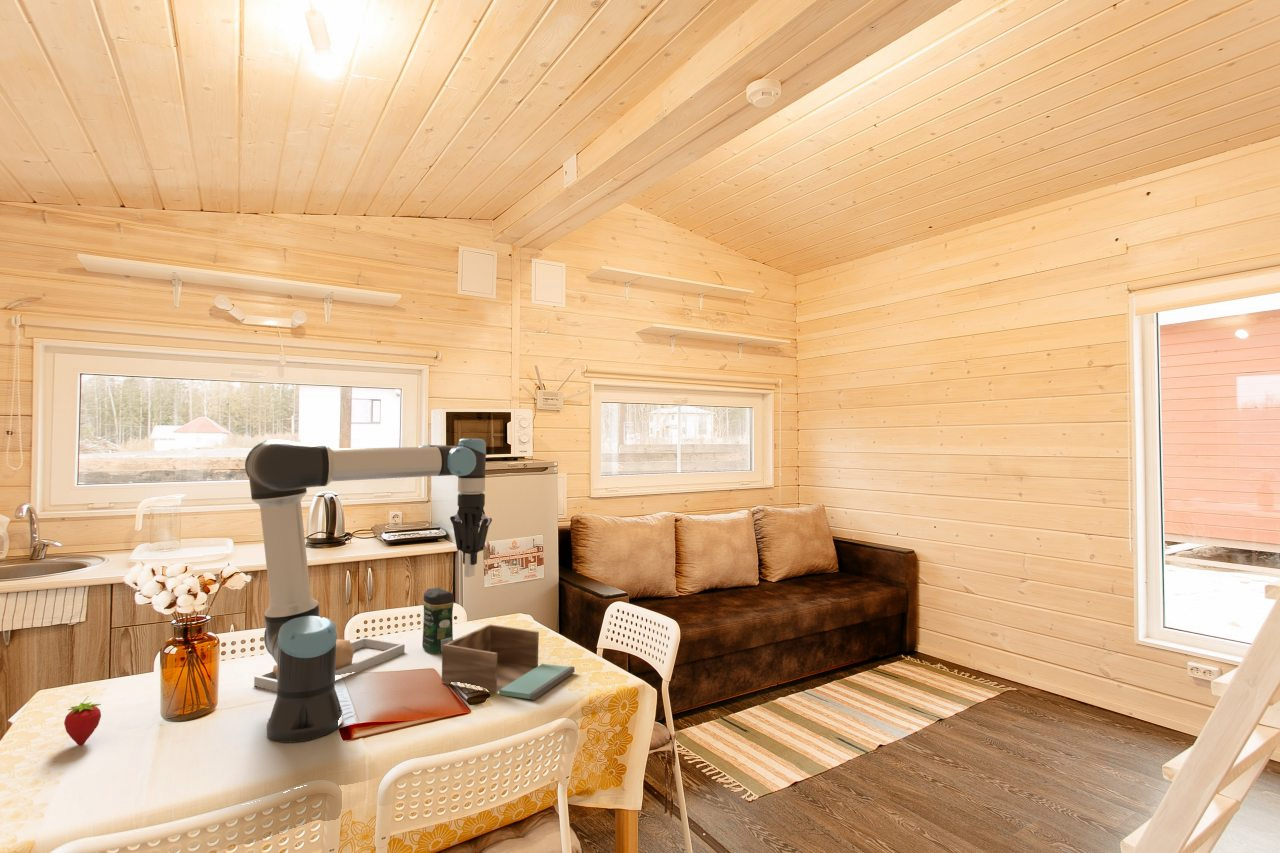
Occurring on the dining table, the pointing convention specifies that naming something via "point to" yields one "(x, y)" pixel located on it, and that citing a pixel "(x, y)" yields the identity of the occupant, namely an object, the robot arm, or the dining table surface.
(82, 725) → the decorative fruit
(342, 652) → the squash
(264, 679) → the serving tray
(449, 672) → the crate
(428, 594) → the coffee jar
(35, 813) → the dining table surface
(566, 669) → the panel
